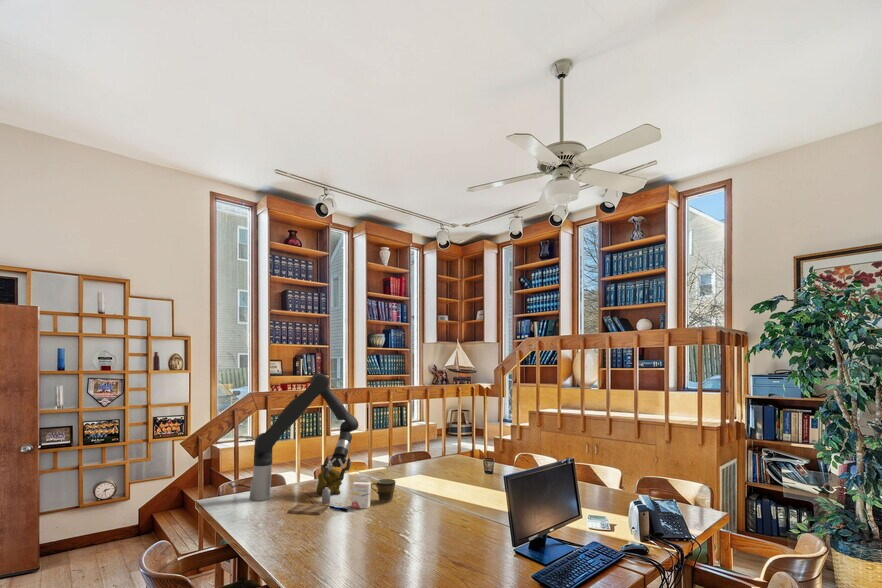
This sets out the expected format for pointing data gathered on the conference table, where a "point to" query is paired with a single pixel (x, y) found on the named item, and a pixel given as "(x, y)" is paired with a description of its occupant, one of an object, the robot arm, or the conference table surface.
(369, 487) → the ink cartridge box
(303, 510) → the walnut board
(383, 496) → the ceramic cup
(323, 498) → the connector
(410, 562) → the conference table surface
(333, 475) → the gourd
